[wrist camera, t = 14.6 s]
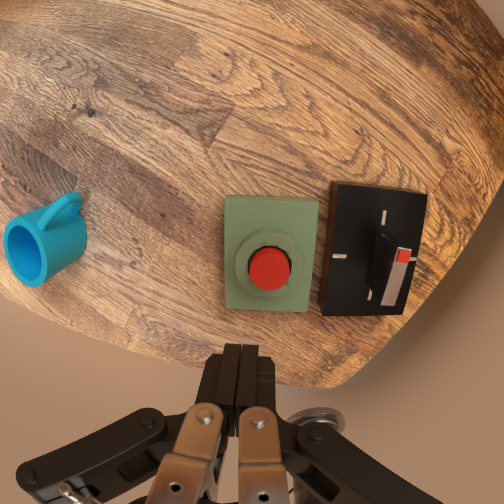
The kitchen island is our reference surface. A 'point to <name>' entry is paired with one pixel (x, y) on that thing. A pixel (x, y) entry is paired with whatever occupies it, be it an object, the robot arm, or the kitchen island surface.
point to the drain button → (269, 269)
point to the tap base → (366, 244)
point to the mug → (45, 240)
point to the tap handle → (387, 267)
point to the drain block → (265, 236)
